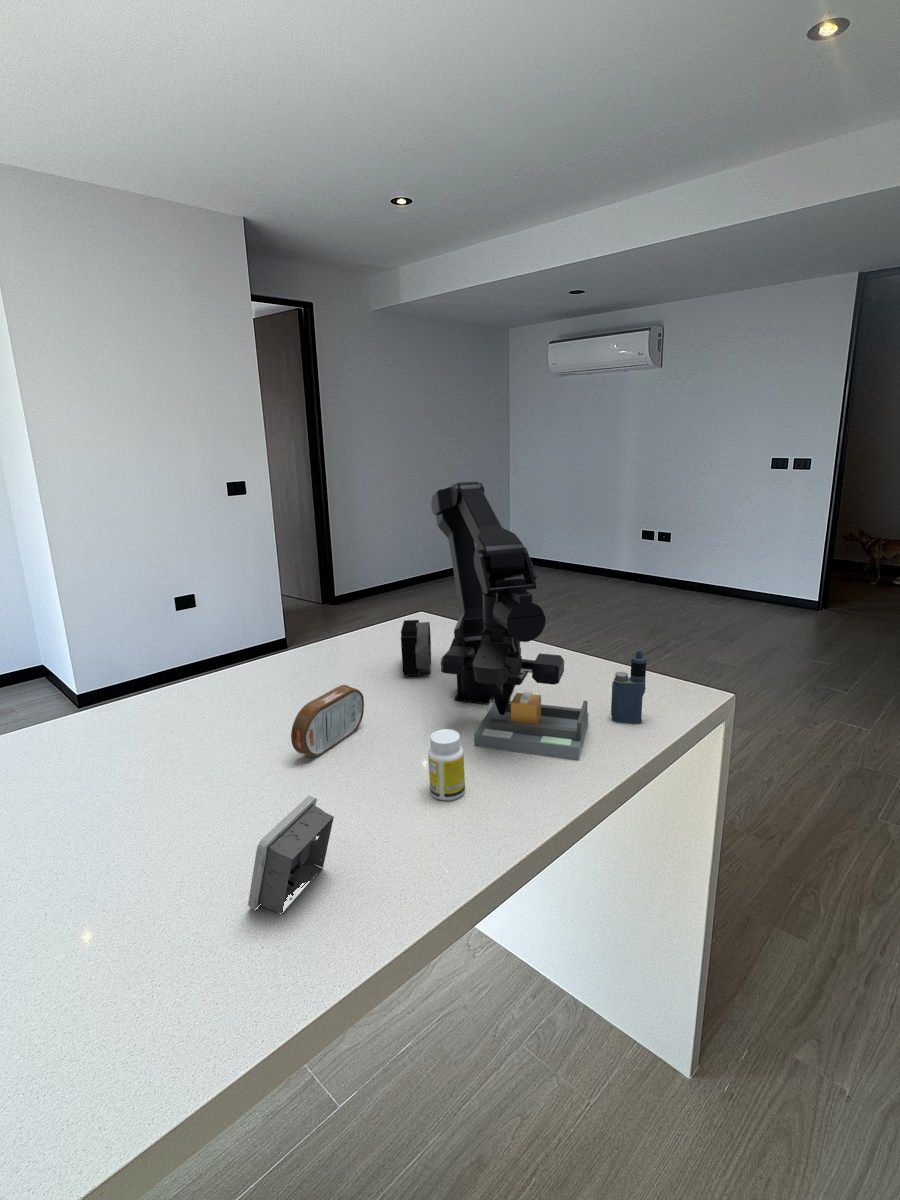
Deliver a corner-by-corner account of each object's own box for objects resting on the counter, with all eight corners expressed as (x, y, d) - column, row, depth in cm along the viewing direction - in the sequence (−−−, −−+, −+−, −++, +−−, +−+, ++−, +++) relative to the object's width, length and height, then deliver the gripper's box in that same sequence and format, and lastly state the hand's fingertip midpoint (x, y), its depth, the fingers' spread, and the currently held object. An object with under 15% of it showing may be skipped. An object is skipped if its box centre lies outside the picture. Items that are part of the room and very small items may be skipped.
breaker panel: (474, 746, 98) (473, 716, 96) (494, 712, 108) (493, 686, 107) (578, 760, 92) (579, 729, 91) (588, 723, 103) (589, 695, 102)
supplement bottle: (469, 785, 87) (467, 730, 85) (458, 804, 83) (456, 746, 81) (436, 779, 89) (434, 725, 86) (424, 798, 84) (422, 742, 82)
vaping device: (644, 724, 103) (648, 655, 99) (611, 722, 104) (613, 654, 100) (642, 717, 105) (646, 650, 102) (610, 715, 106) (613, 648, 103)
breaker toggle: (511, 726, 99) (510, 699, 98) (516, 715, 103) (516, 689, 101) (536, 729, 98) (536, 702, 97) (540, 718, 101) (541, 691, 100)
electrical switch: (299, 856, 74) (298, 788, 71) (337, 870, 72) (337, 801, 69) (246, 912, 66) (242, 838, 63) (288, 929, 64) (285, 854, 61)
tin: (354, 722, 107) (350, 676, 105) (369, 726, 105) (366, 679, 103) (291, 763, 94) (286, 712, 92) (307, 768, 93) (302, 716, 91)
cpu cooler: (430, 680, 123) (428, 631, 121) (401, 680, 123) (398, 631, 121) (432, 660, 133) (430, 615, 131) (405, 661, 133) (403, 616, 131)
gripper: (426, 633, 93) (430, 729, 97) (552, 643, 87) (551, 745, 91) (451, 611, 103) (453, 699, 107) (565, 619, 97) (563, 712, 101)
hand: (502, 713), depth 101 cm, fingers closed
